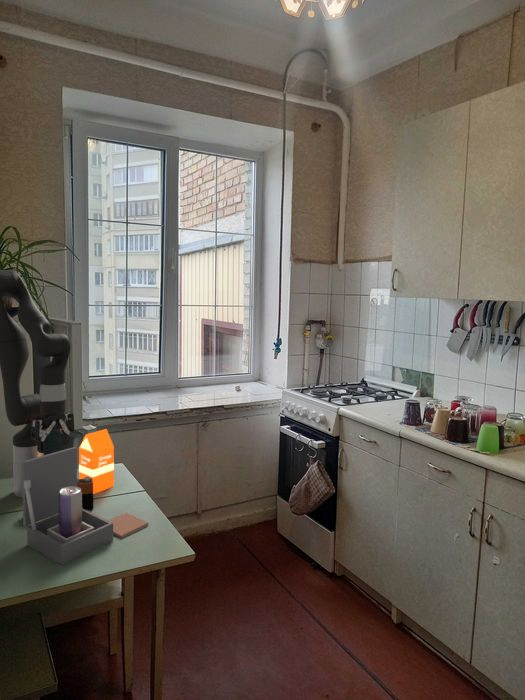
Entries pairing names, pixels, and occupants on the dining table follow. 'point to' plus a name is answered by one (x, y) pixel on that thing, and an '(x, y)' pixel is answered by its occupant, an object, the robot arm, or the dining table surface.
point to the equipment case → (57, 508)
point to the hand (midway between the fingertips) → (53, 449)
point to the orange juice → (97, 460)
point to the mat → (126, 524)
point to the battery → (86, 492)
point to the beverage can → (70, 511)
